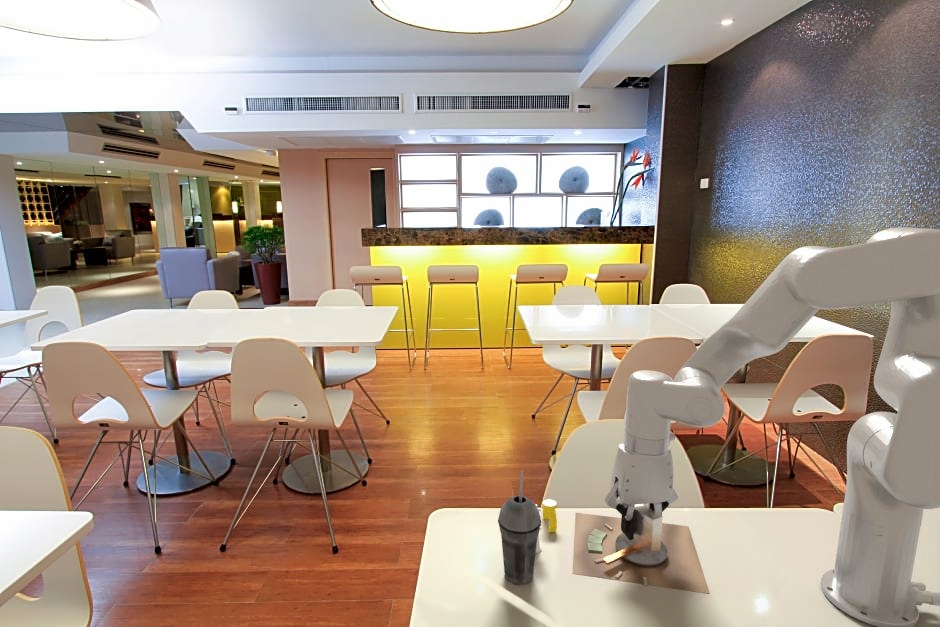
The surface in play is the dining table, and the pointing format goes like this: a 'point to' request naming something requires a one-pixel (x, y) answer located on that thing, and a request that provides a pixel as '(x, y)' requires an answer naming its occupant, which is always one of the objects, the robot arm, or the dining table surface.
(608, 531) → the board
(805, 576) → the dining table surface
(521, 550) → the beverage cup
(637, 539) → the dial
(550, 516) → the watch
